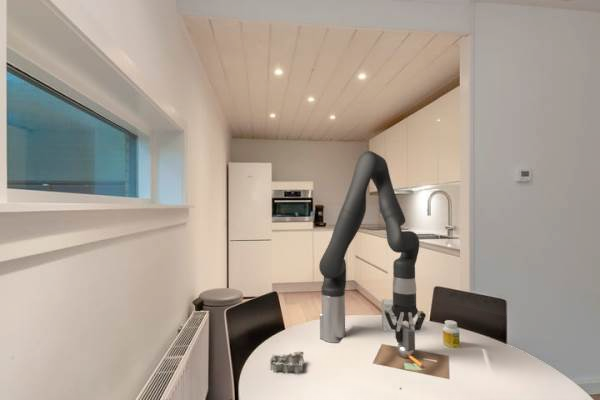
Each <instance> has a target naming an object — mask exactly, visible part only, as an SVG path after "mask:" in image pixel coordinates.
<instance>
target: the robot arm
mask: <svg viewBox="0 0 600 400" xmlns="http://www.w3.org/2000/svg"><path fill="white" fill-rule="evenodd" d="M371 181H372V183H373V184H374V186H375V188H376V191H377V196H378V207H379V211H380V213H381V216H382V218H383V221H384V223H385V232H386V233H385V234H386V241H387V244H388V246H389V248H390V249H391V250H392V252H395V253H400V256H399V257H398V258H396V259H395V260H394V261H393V264H392V265H393V266H392V269H393V273H392V274H393V278H392V300H393V306H392V308H391V310H388V311H387V310H385V311H384V313H385V316H386V318H387V321H388V323H389V325H390V327H391V329H392V330H393V329H394V330H395V332H394V334H395V336H394V337H395V340H396V342H397V341H398V343H397V344H399V343H401V332H400V328H401V325H402V324H403V322H407V324H408V327H409V328H410V329H412V330H413V331H415V332H416V331H420V330H421V329H422V326H423V323H424V322H425V319H426V313H425V312H424V311H422V310H421V311H420V310H418V307H417V282H416V263H417V260H418V256H419V252H420V251H419V250H420V239H419V236H418V235H417V234H416V233H415V232H414V231H410V230H405V231H403V230H402V227H401V226H403V225H404V224H405V223H406V217H405V214H404V212H403V210H402V207H401V204H400V203H399V201H398V199H397V198H398V197H397V195H396V193H395V189H394V187H393V182H392V178H391V176H390V171H389V166H388V162H387V161H386V159H385V158H384V157H383V156H381V155H379V154H377V152H374V151H372V150H371V151H370V150H368V151H364V152H362V154H360V156H359V157H358V159H357V162H356V164H355V168H354V171H353V175H352V179H351V182H350V185H349V188H348V190H347V194H346V195H345V198H344V201H343V204H342V206H341V209H340V211H339V214H338V217H337V220H336V222H335V225H334V228H333V232H332V235H331V238H330V241H329V243H328V245H327V247H326V249H325V251H324V253H323V254H322V257H321V259H320V261H319V266H318V267H319V272H320V273H321V275H322V276H323V282H322V285H321V312H320V314H319V339H320V340H323V341H325V342H328V343H341V342H342V340H343V339H344V338H345V337H346V297H345V296H346V286H347V262H346V259H345V257H346V254H347V251H348V248H349V247H350V245H351V243H352V242H353V240H354V238H355V237H356V234H357V233H358V232H359V229H360V227H361V226H362V222H363V220H364V218H365V215H366V211H367V190H368V187H369V184H370V182H371ZM392 313H394V315H395V316H396V323H395V325H394V324H393V322H392V320H391V317H392ZM416 316H417V318H416V321H415V323H414V318H415V317H416Z"/></svg>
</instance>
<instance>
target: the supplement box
mask: <svg viewBox="0 0 600 400" xmlns="http://www.w3.org/2000/svg"><path fill="white" fill-rule="evenodd" d="M392 306H393V299H388V298H387V299H386V298H381V330H382V331H384V332H390V333H395V330H394V329H393V330H392V329H391V327H390V325H389V323H388V321H387V318H386V316H385V313H384V311H385V310H387V311H388V310H391V308H392ZM391 320H392V322H393V324H394V325H395V323H396V316H395V315H394V313H392V317H391Z"/></svg>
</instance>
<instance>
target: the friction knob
mask: <svg viewBox="0 0 600 400" xmlns="http://www.w3.org/2000/svg"><path fill="white" fill-rule="evenodd" d="M400 332H401V343H398V341H397V340H396V343H397V347H398V355H399V356H400V357H402V358H407V359H411V360H413V361H414V362H415V363H417V364H418V365H419V366H420V367H421V366H423V364H422V363H420V362H419V361H418V360H416V359H415V358H414V350H416V331H413V330H412V329H410V328H409V326H407V325H406V324H404V323H402V325H401V328H400Z"/></svg>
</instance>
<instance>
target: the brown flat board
mask: <svg viewBox="0 0 600 400" xmlns="http://www.w3.org/2000/svg"><path fill="white" fill-rule="evenodd" d="M449 357H450V356H449V355H448V354H442V353H441V354H440V353H434V352H429V351H424V350H419V349H415V350H414V358H415V359H416V360H418V361H419V362H420V363H422V364H423V366H421V367H420V366H419V365H418V364H417V363H415V362H414V361H413V360H411V359H407V358H402V357H400V356H399V355H398V345H397V346H396V345H390V344H385V343H382V344H381V345H380V347H379V349H378V351H377V353H376V354H375V357H374V359H373V362H372V364H373V365H378V366H383V367H386V368H387V367H388V368H394V369H397V370H402V371H408V372H412V373H417V374H422V375H427V376H432V377H436V378H442V379H447V380H450V361H449V359H450V358H449Z"/></svg>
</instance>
